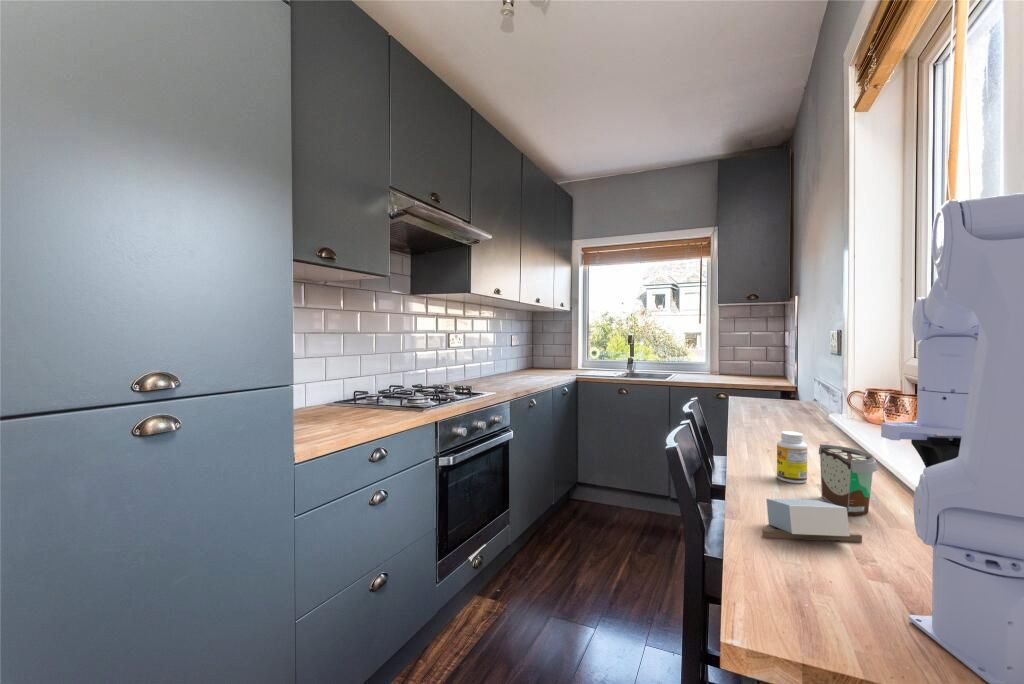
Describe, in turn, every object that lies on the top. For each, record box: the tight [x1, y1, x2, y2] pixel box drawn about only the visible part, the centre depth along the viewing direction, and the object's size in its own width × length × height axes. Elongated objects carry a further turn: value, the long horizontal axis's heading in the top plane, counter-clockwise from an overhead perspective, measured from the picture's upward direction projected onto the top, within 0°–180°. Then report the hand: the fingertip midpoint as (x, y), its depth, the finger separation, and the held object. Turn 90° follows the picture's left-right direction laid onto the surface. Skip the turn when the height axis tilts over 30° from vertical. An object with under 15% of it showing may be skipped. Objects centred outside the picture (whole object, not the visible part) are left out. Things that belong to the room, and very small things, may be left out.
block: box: [766, 498, 851, 536], centre depth 70 cm, size 4×8×8 cm
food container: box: [818, 443, 879, 517], centre depth 81 cm, size 12×6×10 cm, turn 168°
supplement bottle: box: [776, 430, 808, 484], centre depth 96 cm, size 6×6×10 cm
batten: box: [761, 528, 863, 543], centre depth 68 cm, size 1×14×1 cm, turn 85°
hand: (946, 496), depth 57 cm, fingers closed
